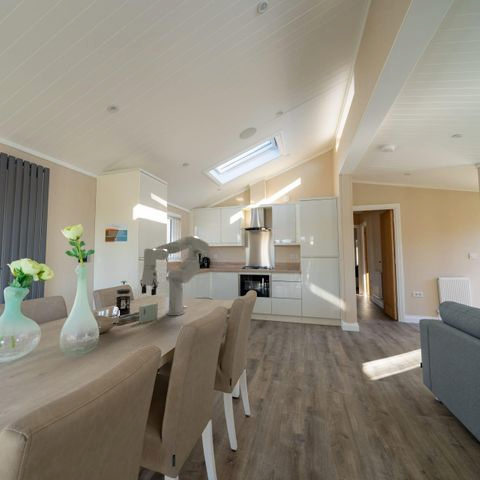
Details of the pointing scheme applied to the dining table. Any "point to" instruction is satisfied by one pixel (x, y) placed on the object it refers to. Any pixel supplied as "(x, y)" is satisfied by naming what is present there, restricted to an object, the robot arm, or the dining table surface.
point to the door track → (128, 318)
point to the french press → (127, 304)
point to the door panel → (148, 312)
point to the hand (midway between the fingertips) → (148, 294)
